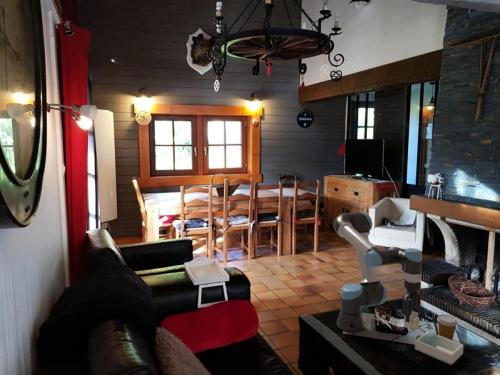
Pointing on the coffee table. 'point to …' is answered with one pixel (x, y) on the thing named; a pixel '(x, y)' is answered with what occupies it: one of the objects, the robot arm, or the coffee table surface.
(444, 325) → the disposable coffee cup
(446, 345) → the tote
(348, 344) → the coffee table surface
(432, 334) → the teal capsule
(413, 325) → the beech cube
